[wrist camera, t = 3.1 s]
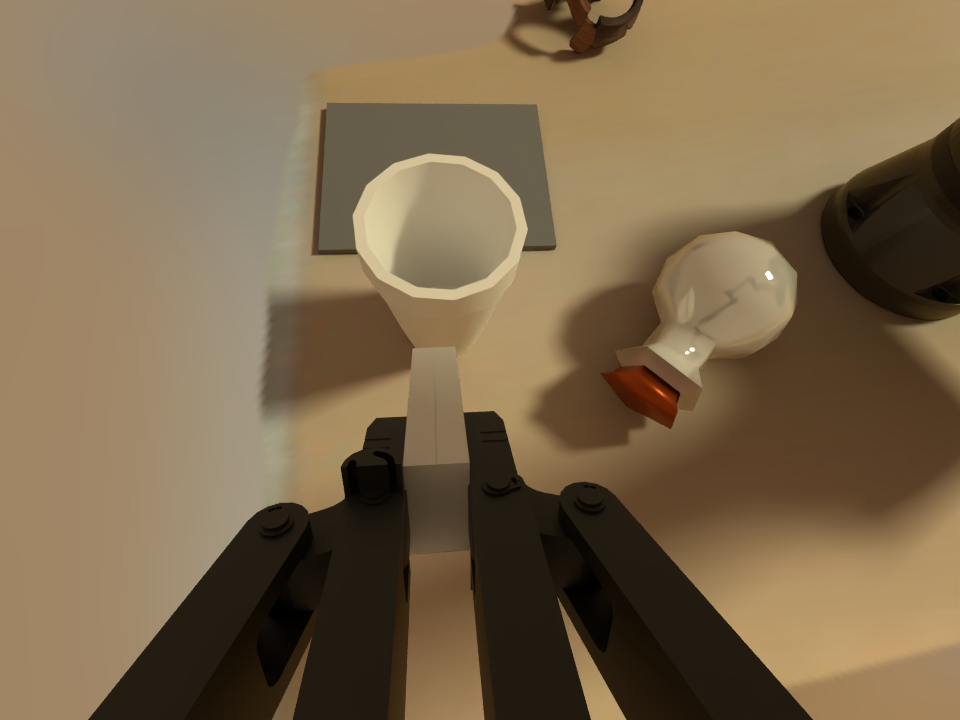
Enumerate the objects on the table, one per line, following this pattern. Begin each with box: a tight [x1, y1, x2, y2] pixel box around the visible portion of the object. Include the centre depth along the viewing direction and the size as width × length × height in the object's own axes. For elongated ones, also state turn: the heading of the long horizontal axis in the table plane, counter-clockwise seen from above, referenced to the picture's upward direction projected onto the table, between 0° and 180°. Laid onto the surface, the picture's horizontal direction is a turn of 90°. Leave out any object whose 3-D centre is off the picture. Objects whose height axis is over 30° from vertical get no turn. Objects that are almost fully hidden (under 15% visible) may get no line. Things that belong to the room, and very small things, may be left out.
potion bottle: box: [601, 231, 797, 429], centre depth 34 cm, size 9×10×15 cm
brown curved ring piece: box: [544, 0, 643, 54], centre depth 48 cm, size 12×10×8 cm
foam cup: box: [353, 153, 528, 355], centre depth 31 cm, size 10×9×13 cm
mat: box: [318, 103, 556, 254], centre depth 42 cm, size 16×20×1 cm
